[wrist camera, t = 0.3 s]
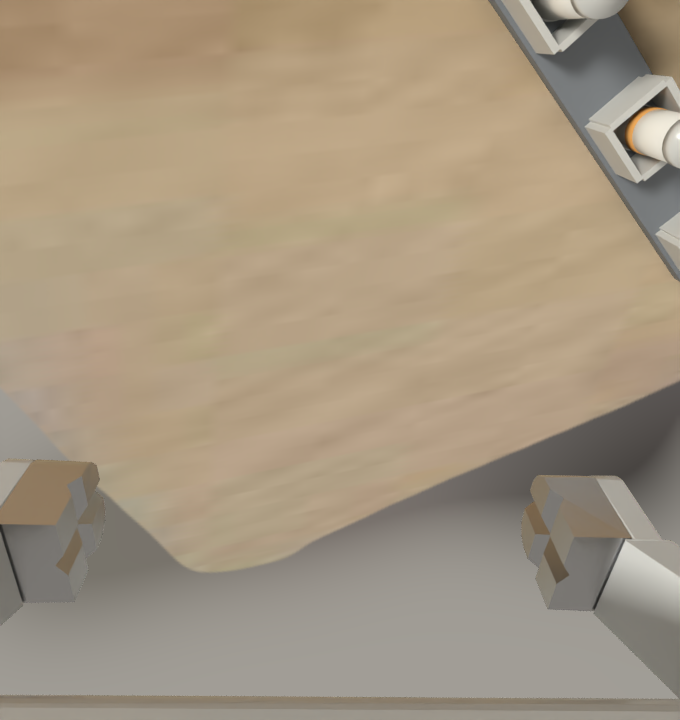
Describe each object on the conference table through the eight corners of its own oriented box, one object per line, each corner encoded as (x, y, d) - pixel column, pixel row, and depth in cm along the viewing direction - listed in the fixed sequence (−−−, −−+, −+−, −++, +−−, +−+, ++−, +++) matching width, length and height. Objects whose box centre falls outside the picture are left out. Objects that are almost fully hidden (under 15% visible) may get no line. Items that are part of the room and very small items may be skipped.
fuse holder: (674, 278, 61) (705, 298, 56) (479, -13, 48) (500, -18, 43) (736, 232, 59) (774, 250, 54) (552, -85, 45) (581, -99, 41)
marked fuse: (615, 101, 51) (680, 115, 42) (657, 103, 51) (730, 117, 43) (604, 147, 53) (664, 169, 44) (644, 148, 53) (711, 171, 44)
